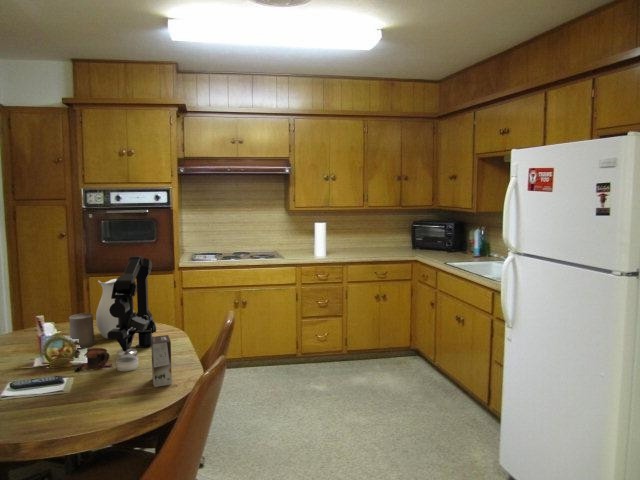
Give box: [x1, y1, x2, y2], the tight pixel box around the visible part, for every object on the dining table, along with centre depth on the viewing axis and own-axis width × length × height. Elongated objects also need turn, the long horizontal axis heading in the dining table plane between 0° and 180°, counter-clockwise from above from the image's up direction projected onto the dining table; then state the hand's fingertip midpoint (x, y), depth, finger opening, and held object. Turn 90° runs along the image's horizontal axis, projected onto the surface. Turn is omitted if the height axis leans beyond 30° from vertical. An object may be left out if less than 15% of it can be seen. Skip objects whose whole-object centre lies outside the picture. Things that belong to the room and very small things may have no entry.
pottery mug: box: [83, 347, 110, 370], centre depth 196 cm, size 12×10×8 cm
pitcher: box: [95, 278, 135, 340], centre depth 237 cm, size 24×17×28 cm
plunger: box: [116, 342, 138, 357], centre depth 193 cm, size 7×7×4 cm
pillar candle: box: [68, 312, 96, 348], centre depth 220 cm, size 10×10×15 cm
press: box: [115, 353, 140, 372], centre depth 195 cm, size 11×8×4 cm
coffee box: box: [150, 334, 173, 388], centre depth 180 cm, size 9×6×16 cm
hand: (127, 349), depth 193 cm, fingers closed on plunger, 3 cm apart
